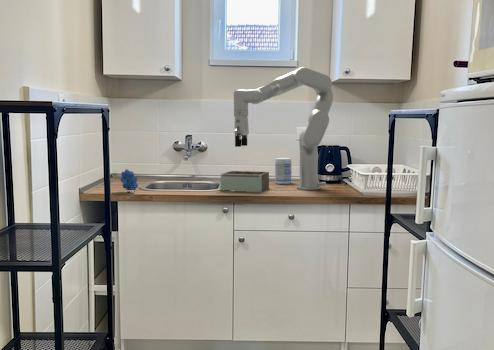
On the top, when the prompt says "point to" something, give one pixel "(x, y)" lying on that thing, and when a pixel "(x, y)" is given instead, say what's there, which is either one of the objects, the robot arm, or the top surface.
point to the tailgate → (241, 182)
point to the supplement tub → (283, 170)
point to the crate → (264, 174)
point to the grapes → (129, 180)
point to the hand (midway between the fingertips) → (241, 146)
